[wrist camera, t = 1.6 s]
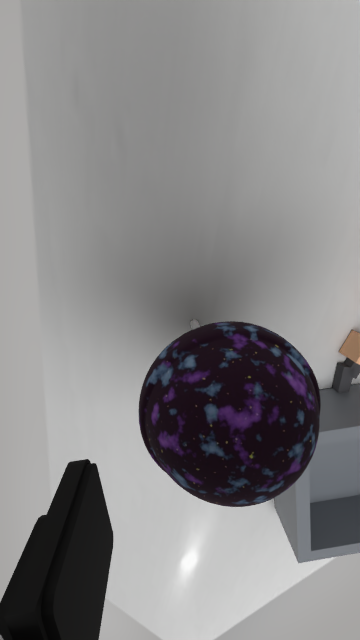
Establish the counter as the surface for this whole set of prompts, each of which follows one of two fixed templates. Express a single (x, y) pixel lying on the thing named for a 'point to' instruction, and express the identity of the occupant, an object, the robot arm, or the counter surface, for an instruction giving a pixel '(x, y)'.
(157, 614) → the counter surface
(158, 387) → the lollipop
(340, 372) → the cable run
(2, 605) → the robot arm
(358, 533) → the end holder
